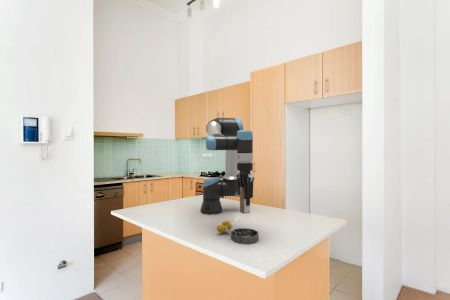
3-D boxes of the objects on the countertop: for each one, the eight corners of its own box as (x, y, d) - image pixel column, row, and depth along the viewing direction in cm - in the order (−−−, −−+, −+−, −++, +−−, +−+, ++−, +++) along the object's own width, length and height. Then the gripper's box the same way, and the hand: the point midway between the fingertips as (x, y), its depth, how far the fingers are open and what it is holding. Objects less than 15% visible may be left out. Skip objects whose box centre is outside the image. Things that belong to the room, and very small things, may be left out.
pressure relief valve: (213, 232, 124) (226, 228, 132) (232, 242, 116) (244, 236, 124) (215, 222, 123) (227, 218, 131) (233, 231, 116) (245, 226, 124)
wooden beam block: (239, 212, 118) (239, 187, 118) (246, 211, 119) (246, 186, 120) (243, 213, 115) (243, 188, 115) (249, 212, 116) (249, 187, 116)
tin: (226, 236, 121) (226, 229, 121) (249, 232, 126) (249, 226, 126) (239, 245, 109) (239, 238, 109) (263, 241, 114) (263, 234, 114)
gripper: (230, 161, 123) (230, 208, 123) (246, 163, 108) (246, 216, 108) (243, 161, 126) (243, 207, 126) (260, 162, 111) (260, 214, 111)
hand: (244, 211), depth 117 cm, fingers closed on wooden beam block, 3 cm apart
